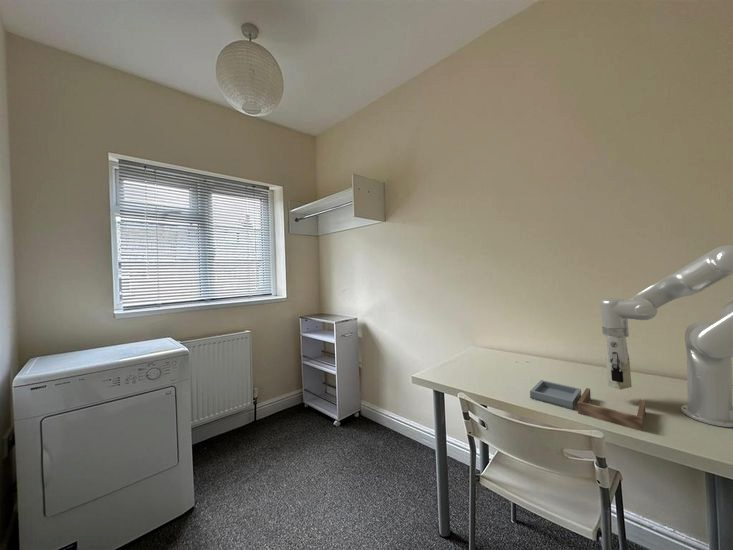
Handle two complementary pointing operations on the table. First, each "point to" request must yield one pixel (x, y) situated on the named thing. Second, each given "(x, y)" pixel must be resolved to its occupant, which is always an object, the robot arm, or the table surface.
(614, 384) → the skincare box
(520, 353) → the table surface
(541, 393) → the tray
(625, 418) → the frame
